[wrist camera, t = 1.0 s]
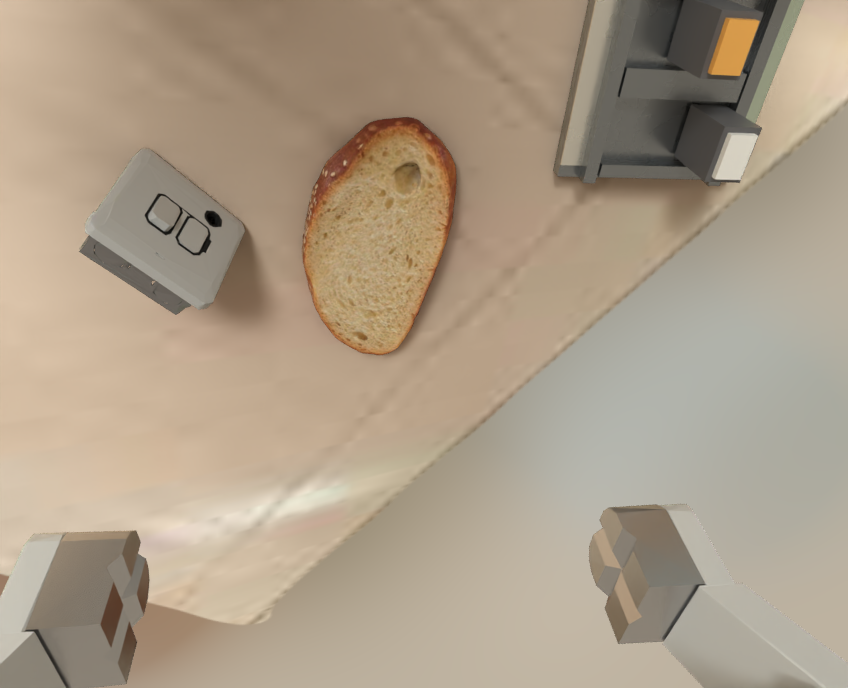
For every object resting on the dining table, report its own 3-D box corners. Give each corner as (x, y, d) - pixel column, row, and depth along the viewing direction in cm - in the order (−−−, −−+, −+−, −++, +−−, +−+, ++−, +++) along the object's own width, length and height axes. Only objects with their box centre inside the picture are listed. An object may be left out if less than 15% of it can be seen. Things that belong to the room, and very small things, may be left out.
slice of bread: (367, 360, 60) (369, 385, 57) (229, 229, 50) (223, 252, 47) (525, 258, 55) (536, 280, 52) (407, 90, 45) (413, 106, 42)
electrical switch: (249, 225, 49) (226, 294, 42) (209, 261, 52) (182, 333, 45) (145, 141, 45) (100, 204, 38) (106, 185, 47) (57, 253, 40)
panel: (628, -188, 36) (644, -191, 34) (853, -163, 38) (880, -164, 37) (553, 170, 50) (562, 182, 48) (723, 174, 52) (738, 186, 50)
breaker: (691, 104, 46) (728, 128, 42) (725, 105, 47) (765, 130, 42) (674, 156, 49) (707, 184, 44) (706, 157, 49) (743, 185, 45)
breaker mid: (685, -4, 42) (726, 11, 37) (723, -2, 42) (768, 14, 38) (666, 59, 44) (703, 80, 40) (702, 61, 44) (743, 82, 40)
